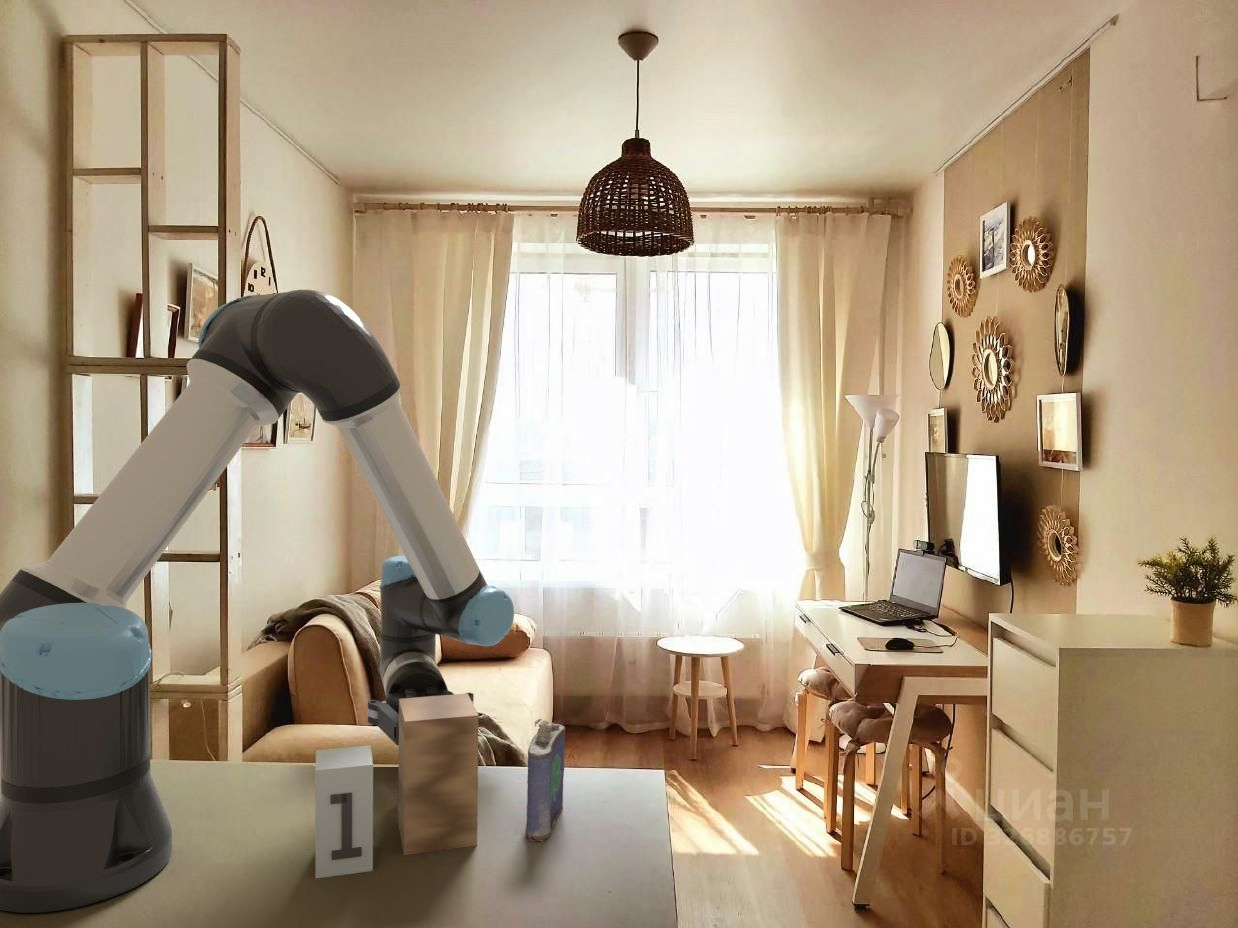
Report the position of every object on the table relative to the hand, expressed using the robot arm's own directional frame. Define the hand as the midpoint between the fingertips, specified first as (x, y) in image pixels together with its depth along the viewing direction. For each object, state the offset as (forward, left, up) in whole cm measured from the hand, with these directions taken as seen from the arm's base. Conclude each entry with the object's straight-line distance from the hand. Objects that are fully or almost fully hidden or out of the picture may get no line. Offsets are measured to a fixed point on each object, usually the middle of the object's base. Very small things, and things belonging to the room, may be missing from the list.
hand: (438, 756), depth 94 cm
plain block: (-1, -4, -6) cm, 8 cm away
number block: (-10, -7, -6) cm, 14 cm away
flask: (+10, -4, -7) cm, 13 cm away
